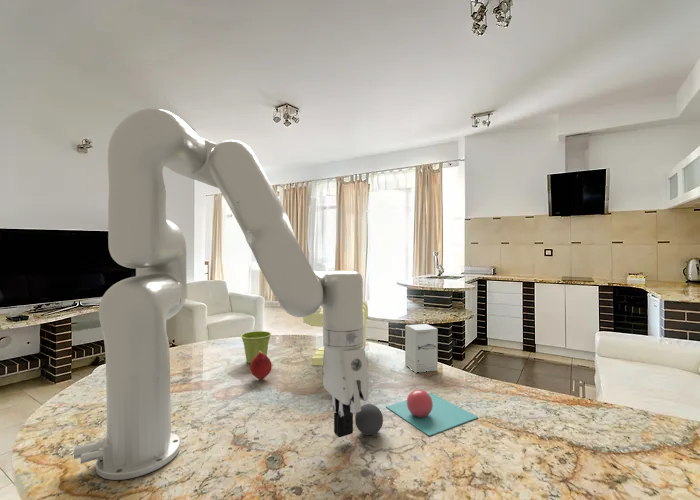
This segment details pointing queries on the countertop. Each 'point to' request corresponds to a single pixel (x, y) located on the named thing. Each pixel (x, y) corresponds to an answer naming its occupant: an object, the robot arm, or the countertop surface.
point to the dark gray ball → (369, 419)
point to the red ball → (419, 403)
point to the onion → (260, 366)
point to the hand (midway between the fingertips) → (343, 433)
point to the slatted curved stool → (317, 320)
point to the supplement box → (421, 347)
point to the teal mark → (434, 416)
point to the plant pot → (255, 343)
